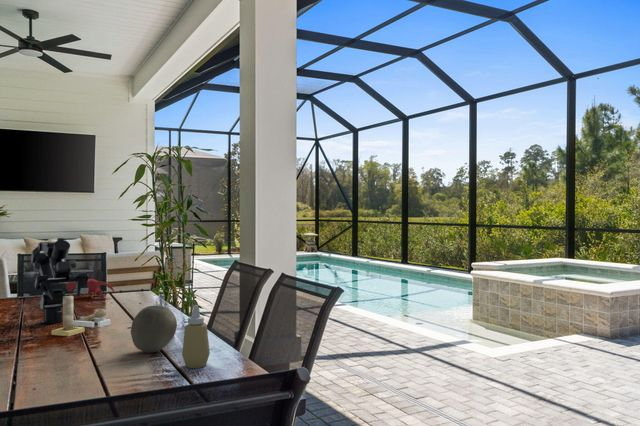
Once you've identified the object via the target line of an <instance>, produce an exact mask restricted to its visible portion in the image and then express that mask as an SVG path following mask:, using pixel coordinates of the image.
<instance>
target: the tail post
mask: <svg viewBox="0 0 640 426" xmlns="http://www.w3.org/2000/svg"><path fill="white" fill-rule="evenodd" d="M62 320H63V321H62V328H63V331H70V330H74V327H75V326H74V325H73V320H74V295H65V296H64V297H63V307H62Z"/></svg>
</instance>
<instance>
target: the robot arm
mask: <svg viewBox="0 0 640 426" xmlns="http://www.w3.org/2000/svg"><path fill="white" fill-rule="evenodd" d="M70 248H71V244H70V243H69V242H68V240H64V238H63V237H61V238H59V237H58V238H57V239H56V241H53V242H51V241H40V242H38V243H37V246H36V247H35V248H34V249H32V251H31V255H30V263H31V264H32V265H33V268H34V269H36V270H38V271H39V273H40V274H39V275H37V276H36V277H35V281H34V289H35V290H37V291H40V292H42V294H41V298H40V302H39V307H40V309H42V310H43V321H40V324H50V325H51V324H52V325H53V324H57V323H58V324H59V323H61V322H62V323H63V310H62V308H63V297H64V296H66V293H65V292H64V290H63V288H62V287H63V286H62V284H67V283H73V282H75V284H76V287H75V291H76V296H77V298H79V297H80V295H81V289H82V288H84V287H85V286H87V282H88V279H90V276H89V273H88V272H77V273H76V276H71V274H72V271H71V270H74V269H76V268H77V261H76V260H75V259H72V260H67V261H66V259H67V258H68V255H69V251H70Z"/></svg>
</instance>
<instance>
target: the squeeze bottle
mask: <svg viewBox="0 0 640 426" xmlns="http://www.w3.org/2000/svg"><path fill="white" fill-rule="evenodd" d="M200 313H201V312H200V309H199V305H198V304H194V305H193V308H192V313H191V316H189V317H188V318H187V325H185V326H184V329H183V330H184V332H183V341H182V342H183V343H182V349H181V350H182V351H181V354H182V355H181V357H182V359H183V362H184V365H185V367H186V368H189V369H199V368H203V367H205V366H206V365H207V363H208V361H209V357H210V353H211V352H210V342H209V334H208V326H207V324H205V317H204V316H201V314H200Z"/></svg>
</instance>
